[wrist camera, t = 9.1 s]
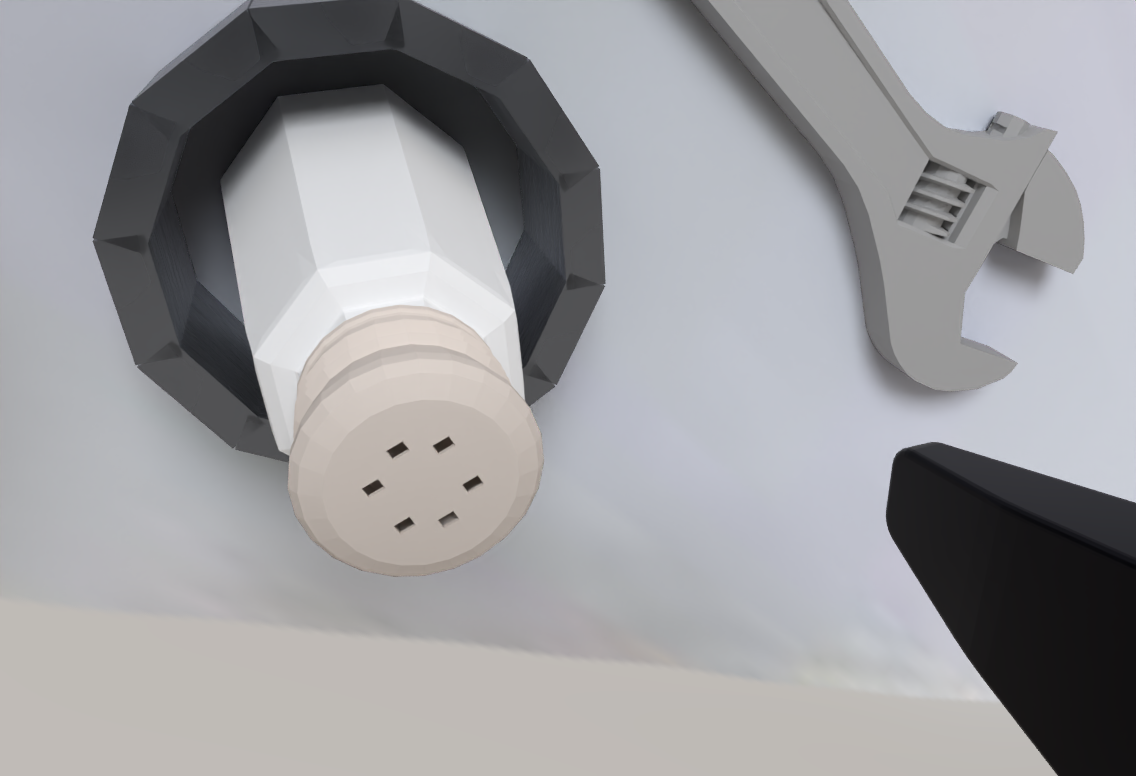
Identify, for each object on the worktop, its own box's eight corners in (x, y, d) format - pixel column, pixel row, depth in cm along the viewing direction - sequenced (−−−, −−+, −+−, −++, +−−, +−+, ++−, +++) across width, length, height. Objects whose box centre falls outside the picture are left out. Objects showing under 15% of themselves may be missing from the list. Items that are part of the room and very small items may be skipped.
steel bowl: (201, 425, 20) (186, 512, 17) (70, 11, 16) (19, 29, 13) (567, 356, 22) (612, 422, 19) (538, -31, 18) (590, -24, 15)
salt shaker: (160, 164, 17) (13, 438, 8) (394, 26, 17) (525, 136, 8) (318, 367, 20) (348, 745, 11) (519, 247, 20) (723, 521, 11)
